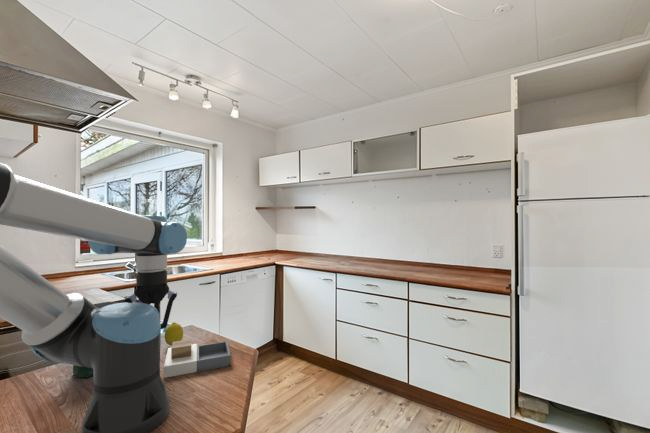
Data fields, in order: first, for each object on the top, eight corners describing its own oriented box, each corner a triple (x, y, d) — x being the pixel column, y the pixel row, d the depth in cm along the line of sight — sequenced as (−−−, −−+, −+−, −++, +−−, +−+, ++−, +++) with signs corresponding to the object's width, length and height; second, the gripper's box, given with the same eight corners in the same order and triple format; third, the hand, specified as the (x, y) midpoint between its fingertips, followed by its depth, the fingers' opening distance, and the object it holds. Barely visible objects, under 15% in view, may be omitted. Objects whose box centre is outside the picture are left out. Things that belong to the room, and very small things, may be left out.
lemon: (162, 346, 101) (162, 322, 101) (180, 341, 104) (180, 318, 104) (167, 351, 96) (167, 326, 97) (185, 346, 100) (185, 322, 100)
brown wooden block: (191, 355, 86) (190, 345, 86) (171, 359, 84) (171, 348, 85) (191, 349, 91) (191, 339, 91) (172, 352, 89) (172, 341, 89)
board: (196, 371, 83) (196, 360, 83) (163, 378, 80) (163, 366, 80) (196, 353, 95) (196, 343, 95) (168, 357, 92) (168, 347, 92)
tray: (230, 365, 87) (230, 355, 87) (197, 371, 83) (197, 360, 83) (227, 350, 97) (227, 341, 97) (197, 355, 93) (197, 345, 94)
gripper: (178, 266, 91) (178, 345, 91) (127, 269, 86) (127, 353, 86) (176, 270, 84) (177, 355, 84) (121, 274, 79) (121, 364, 79)
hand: (152, 354), depth 85 cm, fingers closed
